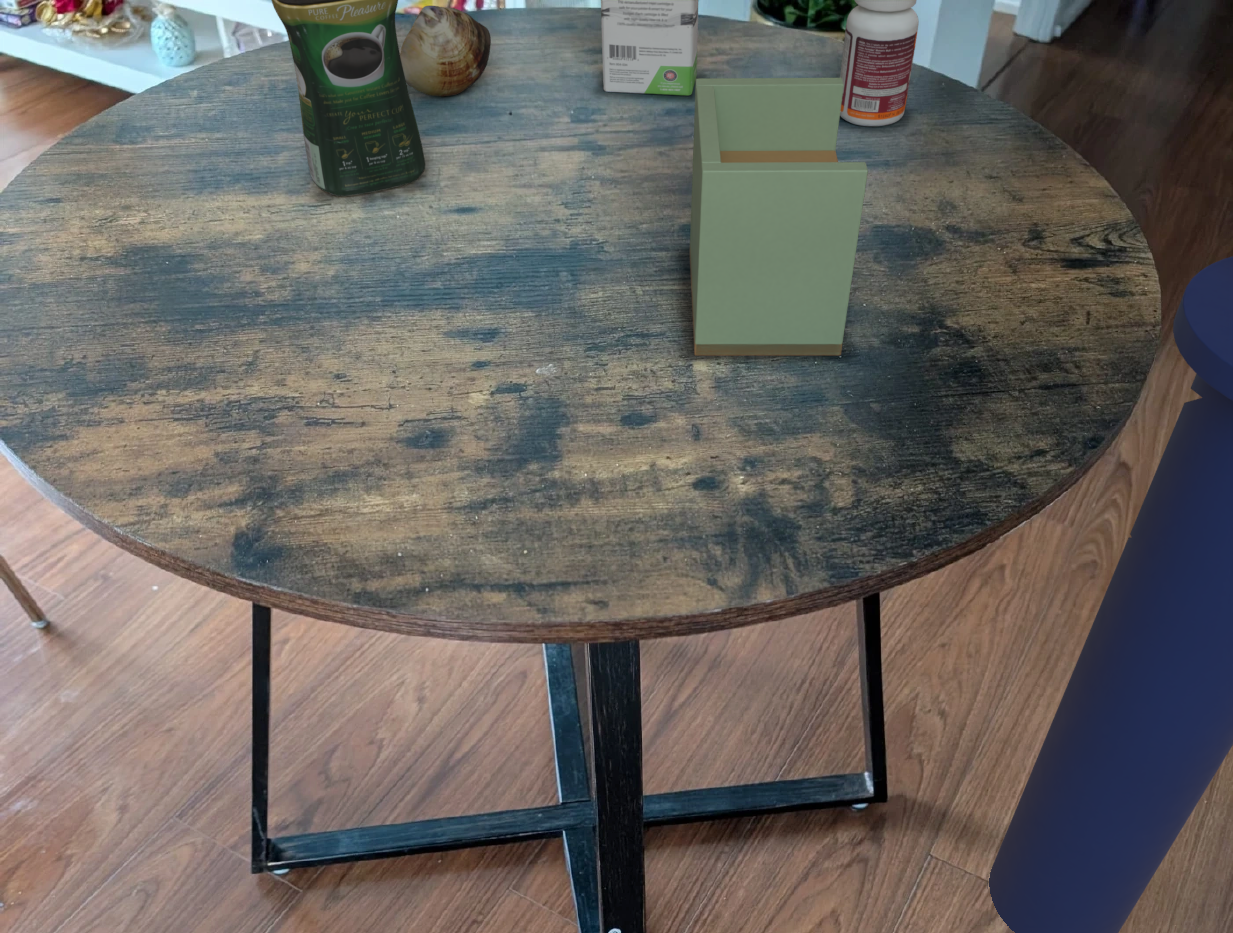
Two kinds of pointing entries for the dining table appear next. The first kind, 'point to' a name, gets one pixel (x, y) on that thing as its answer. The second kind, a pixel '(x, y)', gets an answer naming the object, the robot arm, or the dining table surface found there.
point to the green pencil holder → (771, 217)
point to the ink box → (649, 46)
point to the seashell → (444, 51)
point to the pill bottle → (878, 61)
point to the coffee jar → (352, 94)
